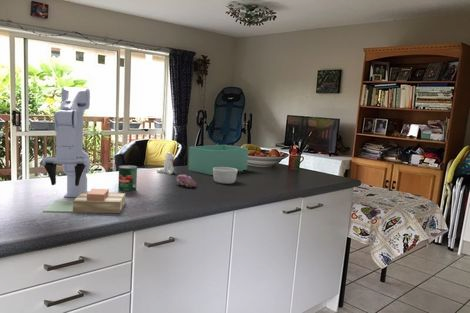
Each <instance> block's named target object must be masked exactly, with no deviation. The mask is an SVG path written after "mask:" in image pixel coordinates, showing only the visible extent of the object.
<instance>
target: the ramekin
mask: <svg viewBox="0 0 470 313" xmlns="http://www.w3.org/2000/svg"><path fill="white" fill-rule="evenodd" d="M237 175H238V170H237V169H235V168H229V167H215V168H213V175H212V176H213V180H214V183H219V184H234V183H235V182H236V180H237Z"/></svg>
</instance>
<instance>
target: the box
mask: <svg viewBox="0 0 470 313" xmlns="http://www.w3.org/2000/svg"><path fill="white" fill-rule="evenodd" d="M248 155H249V148H247V147H241V146H236V145H235V146H234V145H227V144H217V145H202V146H201V145H200V146H199V145H195V146H189V148H188V167H187V168H188V169H187V170H188V171H192V172H196V173H200V174H206V175H209V176H210V175H211V176H213V168H215V167H229V168H235V169H237V170H238V171H239V172H244V171H243V170H246V171H247V170H248V158H249V157H248Z"/></svg>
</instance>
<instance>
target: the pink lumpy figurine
mask: <svg viewBox="0 0 470 313" xmlns="http://www.w3.org/2000/svg"><path fill="white" fill-rule="evenodd" d="M175 181H176V182H177V183H178V184H179V185H180V186H184V185H185V186H186V187H187V188H189V186H192V187H194V188H195V187H197V182H196V181H195V180H194V179H193V177H191V176H190V175H189V176H188V175H187V174H178V175H177V176H176V177H175Z"/></svg>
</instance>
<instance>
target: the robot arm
mask: <svg viewBox="0 0 470 313" xmlns="http://www.w3.org/2000/svg"><path fill="white" fill-rule="evenodd" d="M90 93H91V90H90V89H89V88H88V87H86V88H85V87H75V86H74V87H71V86H63V87H62V88H61V101H62V102H61V104H60V107H59V109H57V111H56V110H55V111H54V115H53V121H54V122H53V123H54V130H55V131H54V132H55V136H56V137H55V140H56V141H55V142H56V143H55V145H56V146H55V147H56V148H55V153H56V156H55V157H54V156H53V157H50V156H49V157H45V156H44V157H42V158H41V164H42V165H44V170H46V172H47V174H48V177H49V179H50V182H51V184H50V185H51V186H55V185H56V183H57V175H56V172H57V165H62V172H63V173H64V174H65V175H66V194H64V195H63V198H77V197H78V196H79V195H80V194H81V193H82V192H89V191H90V190H88V177H87V174H89V172H90V170H91V169H90V168H91V159H90V155H89V153H88V152H86V151H84V149H83V147H84V146H83V145H84V143H83V141H84V114H85V111H86V110H88V109H89V108H90V105H91V104H90V99H91V94H90Z"/></svg>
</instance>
